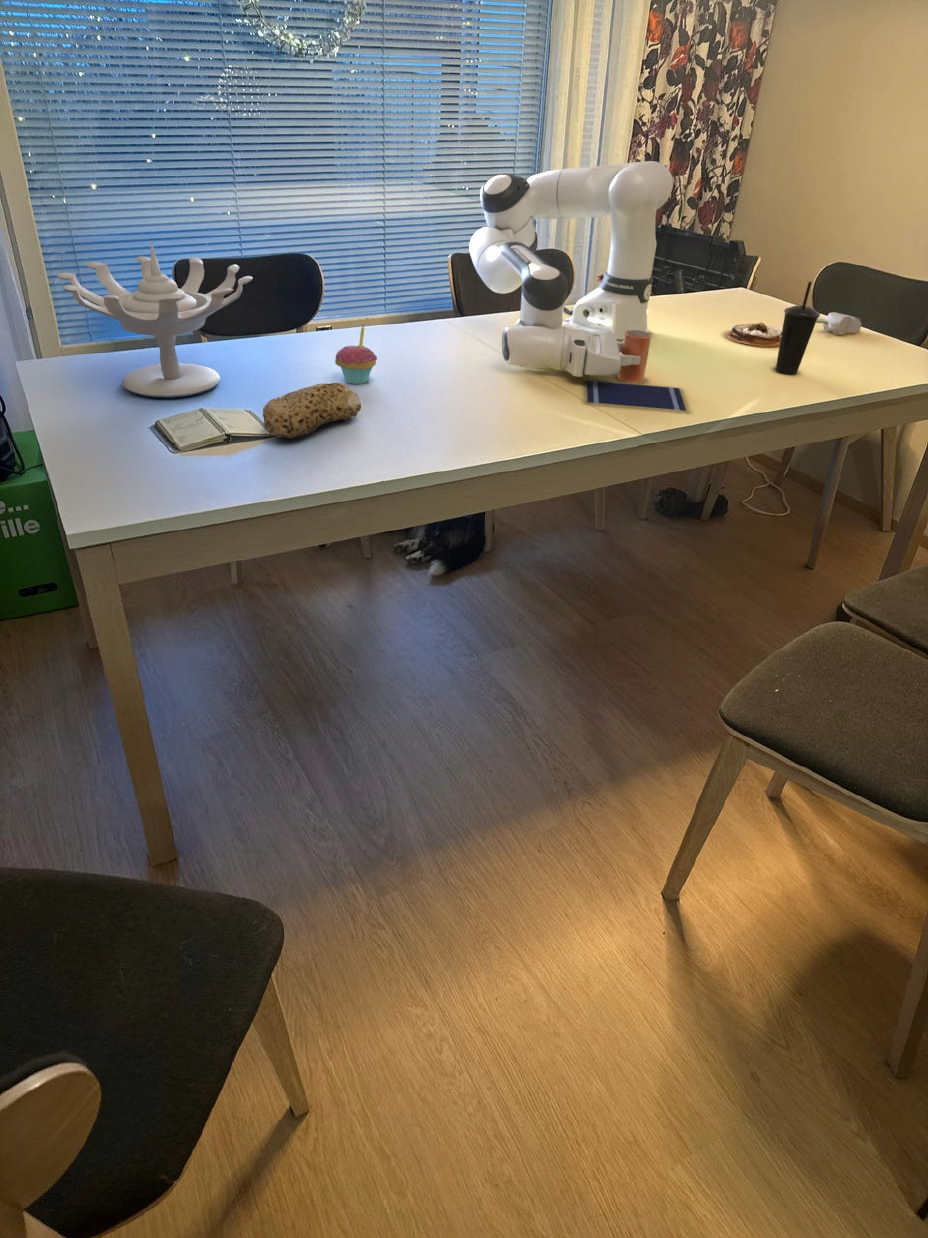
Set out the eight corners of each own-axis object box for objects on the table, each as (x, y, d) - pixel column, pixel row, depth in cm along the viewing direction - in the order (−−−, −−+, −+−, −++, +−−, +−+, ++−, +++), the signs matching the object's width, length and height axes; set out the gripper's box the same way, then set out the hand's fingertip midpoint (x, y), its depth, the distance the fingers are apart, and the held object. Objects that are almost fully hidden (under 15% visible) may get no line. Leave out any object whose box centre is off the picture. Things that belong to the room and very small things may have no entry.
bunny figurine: (872, 319, 225) (840, 317, 217) (865, 338, 228) (832, 338, 220) (843, 310, 231) (810, 309, 223) (836, 329, 234) (803, 328, 226)
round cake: (715, 331, 222) (719, 315, 220) (764, 329, 226) (768, 314, 223) (744, 347, 210) (748, 330, 208) (796, 346, 214) (800, 329, 212)
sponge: (332, 412, 163) (238, 410, 150) (342, 374, 159) (246, 369, 146) (367, 446, 156) (272, 447, 143) (378, 407, 152) (281, 406, 139)
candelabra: (104, 427, 148) (71, 265, 133) (65, 370, 172) (33, 226, 157) (286, 400, 164) (275, 252, 149) (226, 351, 188) (212, 219, 173)
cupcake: (383, 377, 178) (382, 320, 171) (366, 389, 171) (365, 330, 165) (346, 371, 180) (344, 314, 174) (328, 383, 174) (326, 324, 167)
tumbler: (612, 379, 185) (619, 333, 179) (625, 373, 189) (632, 328, 183) (636, 385, 182) (643, 338, 176) (648, 379, 186) (656, 333, 180)
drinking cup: (805, 378, 192) (831, 287, 181) (771, 374, 193) (794, 283, 182) (800, 368, 198) (825, 279, 187) (767, 365, 199) (790, 276, 188)
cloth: (587, 404, 171) (587, 402, 170) (586, 382, 182) (586, 380, 182) (685, 412, 169) (686, 410, 169) (678, 389, 181) (679, 387, 181)
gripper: (573, 350, 193) (632, 355, 192) (574, 379, 176) (640, 384, 176) (576, 322, 190) (637, 327, 189) (578, 348, 173) (645, 353, 172)
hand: (638, 354), depth 182 cm, fingers closed on tumbler, 6 cm apart
